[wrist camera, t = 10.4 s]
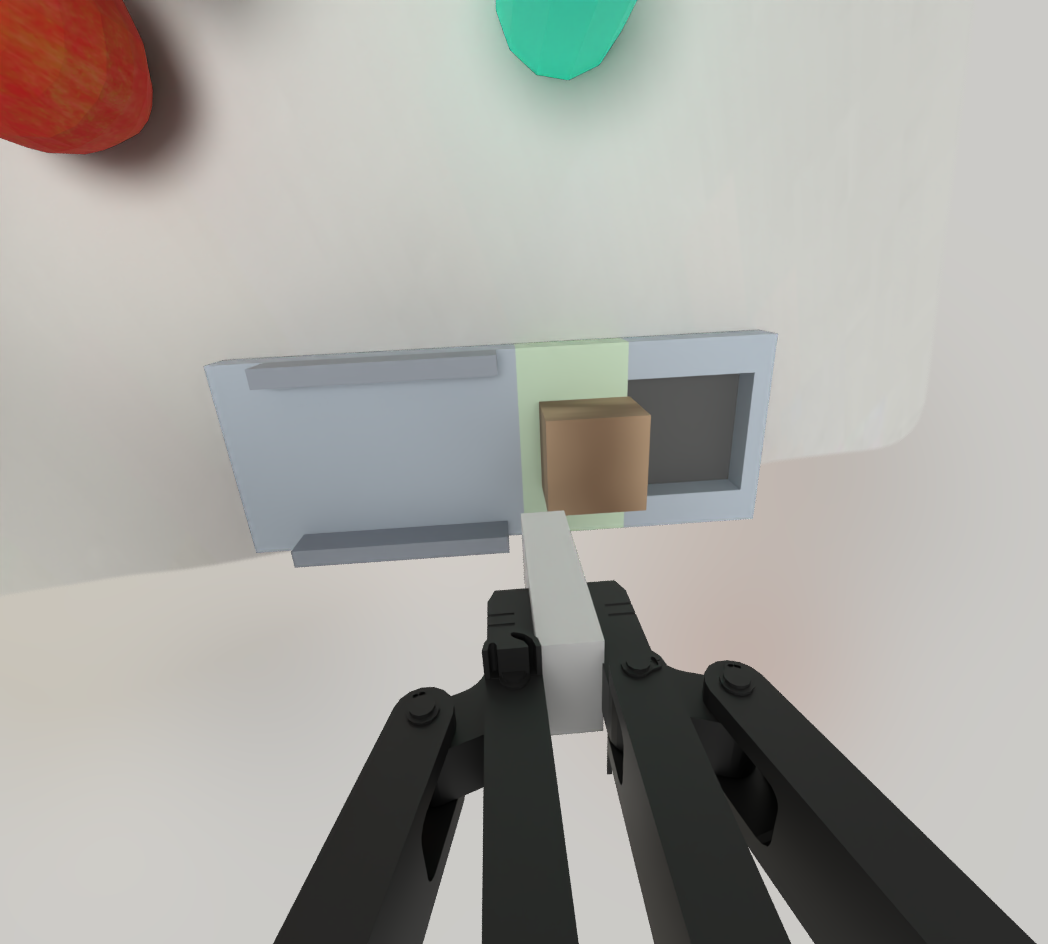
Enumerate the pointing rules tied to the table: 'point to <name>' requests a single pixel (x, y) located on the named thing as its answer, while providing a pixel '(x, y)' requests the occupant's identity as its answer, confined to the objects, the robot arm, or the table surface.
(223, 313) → the table surface
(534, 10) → the candle
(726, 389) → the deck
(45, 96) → the apple
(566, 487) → the block
